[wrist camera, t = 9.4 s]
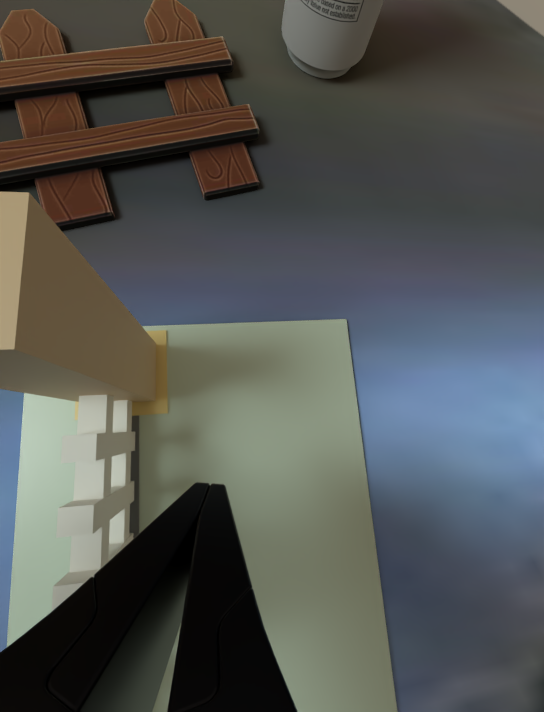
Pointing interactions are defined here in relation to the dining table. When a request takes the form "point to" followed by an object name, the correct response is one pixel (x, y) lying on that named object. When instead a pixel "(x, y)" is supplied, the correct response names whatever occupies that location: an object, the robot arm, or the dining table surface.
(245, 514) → the mat
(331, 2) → the energy drink can
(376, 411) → the dining table surface
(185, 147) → the decorative fence
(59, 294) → the gate
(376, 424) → the dining table surface
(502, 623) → the dining table surface
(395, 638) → the dining table surface
